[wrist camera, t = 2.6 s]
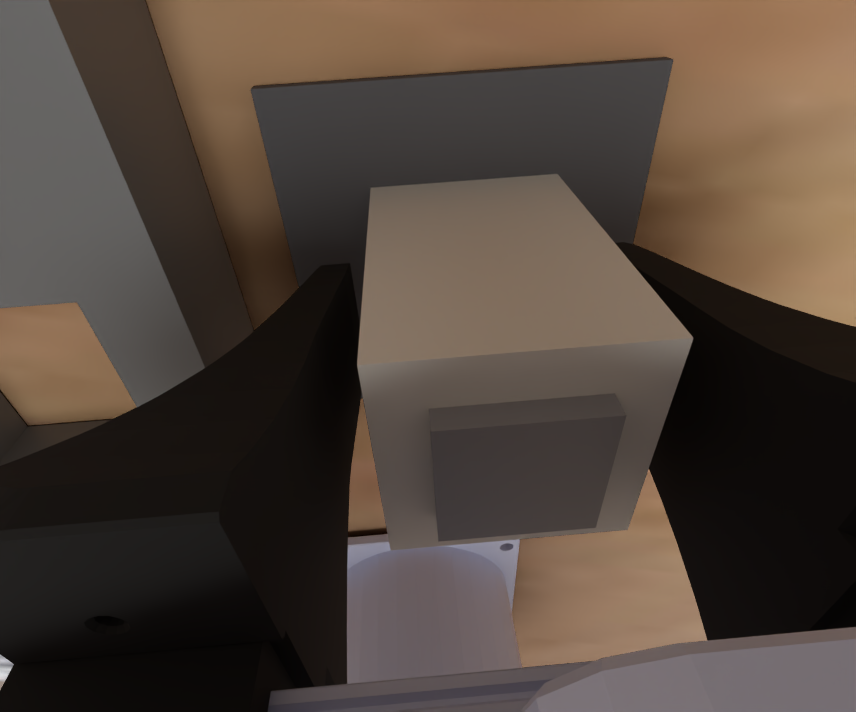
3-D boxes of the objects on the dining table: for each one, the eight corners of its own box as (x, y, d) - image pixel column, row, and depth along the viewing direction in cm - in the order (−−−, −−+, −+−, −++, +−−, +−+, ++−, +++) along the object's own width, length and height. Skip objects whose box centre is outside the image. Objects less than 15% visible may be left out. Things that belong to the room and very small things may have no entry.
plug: (541, 327, 13) (637, 552, 8) (389, 339, 13) (390, 573, 8) (557, 173, 11) (710, 358, 6) (370, 187, 11) (354, 387, 6)
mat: (600, 371, 15) (603, 378, 14) (327, 394, 14) (326, 401, 14) (666, 57, 10) (673, 59, 9) (254, 86, 10) (250, 88, 9)
